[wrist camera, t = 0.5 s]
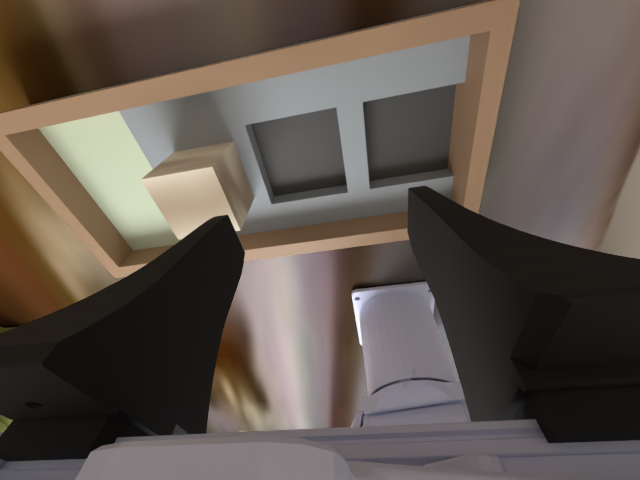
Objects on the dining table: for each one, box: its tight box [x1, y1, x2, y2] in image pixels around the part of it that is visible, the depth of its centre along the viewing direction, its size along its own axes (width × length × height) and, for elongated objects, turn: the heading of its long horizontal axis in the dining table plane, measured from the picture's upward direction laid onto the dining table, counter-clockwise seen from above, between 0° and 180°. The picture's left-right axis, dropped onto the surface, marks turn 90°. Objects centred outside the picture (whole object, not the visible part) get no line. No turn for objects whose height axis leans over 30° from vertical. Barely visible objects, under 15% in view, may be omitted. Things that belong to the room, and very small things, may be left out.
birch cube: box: [141, 141, 255, 240], centre depth 17 cm, size 4×4×4 cm
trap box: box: [0, 0, 520, 278], centre depth 18 cm, size 12×27×4 cm, turn 101°
